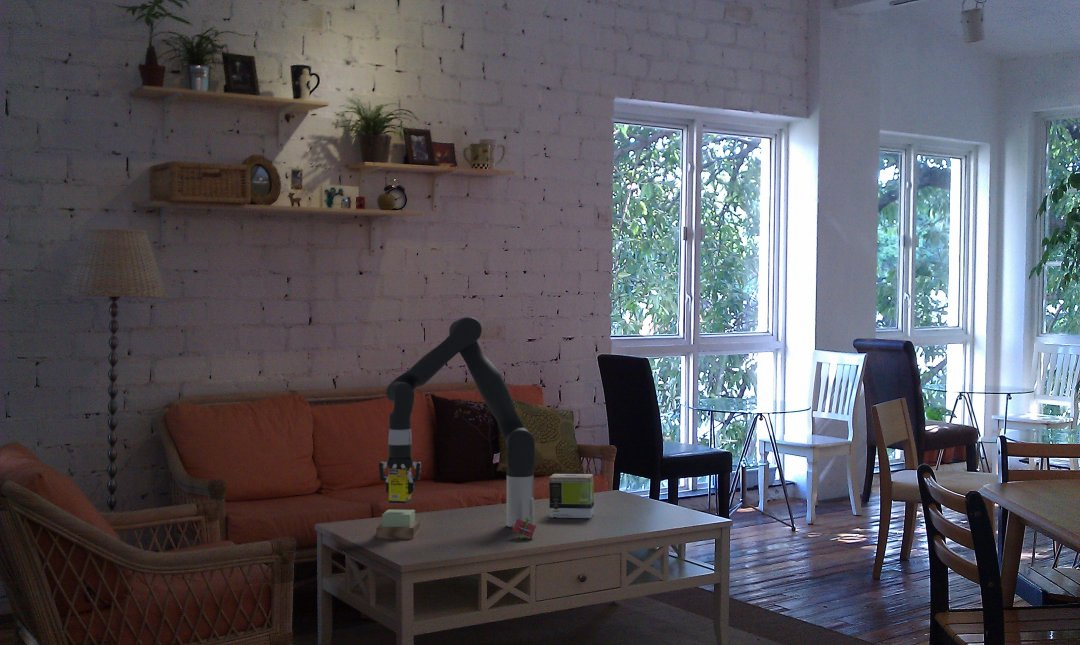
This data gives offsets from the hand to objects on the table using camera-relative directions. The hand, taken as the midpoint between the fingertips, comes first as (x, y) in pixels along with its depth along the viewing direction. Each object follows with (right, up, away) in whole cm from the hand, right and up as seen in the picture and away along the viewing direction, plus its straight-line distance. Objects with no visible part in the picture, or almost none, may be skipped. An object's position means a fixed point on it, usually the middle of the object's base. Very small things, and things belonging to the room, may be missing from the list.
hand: (400, 493), depth 353 cm
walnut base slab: (0, -14, 0) cm, 14 cm away
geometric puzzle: (+41, -14, -6) cm, 43 cm away
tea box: (+57, -14, +34) cm, 68 cm away
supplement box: (0, -3, 0) cm, 3 cm away
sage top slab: (0, -10, 0) cm, 10 cm away
